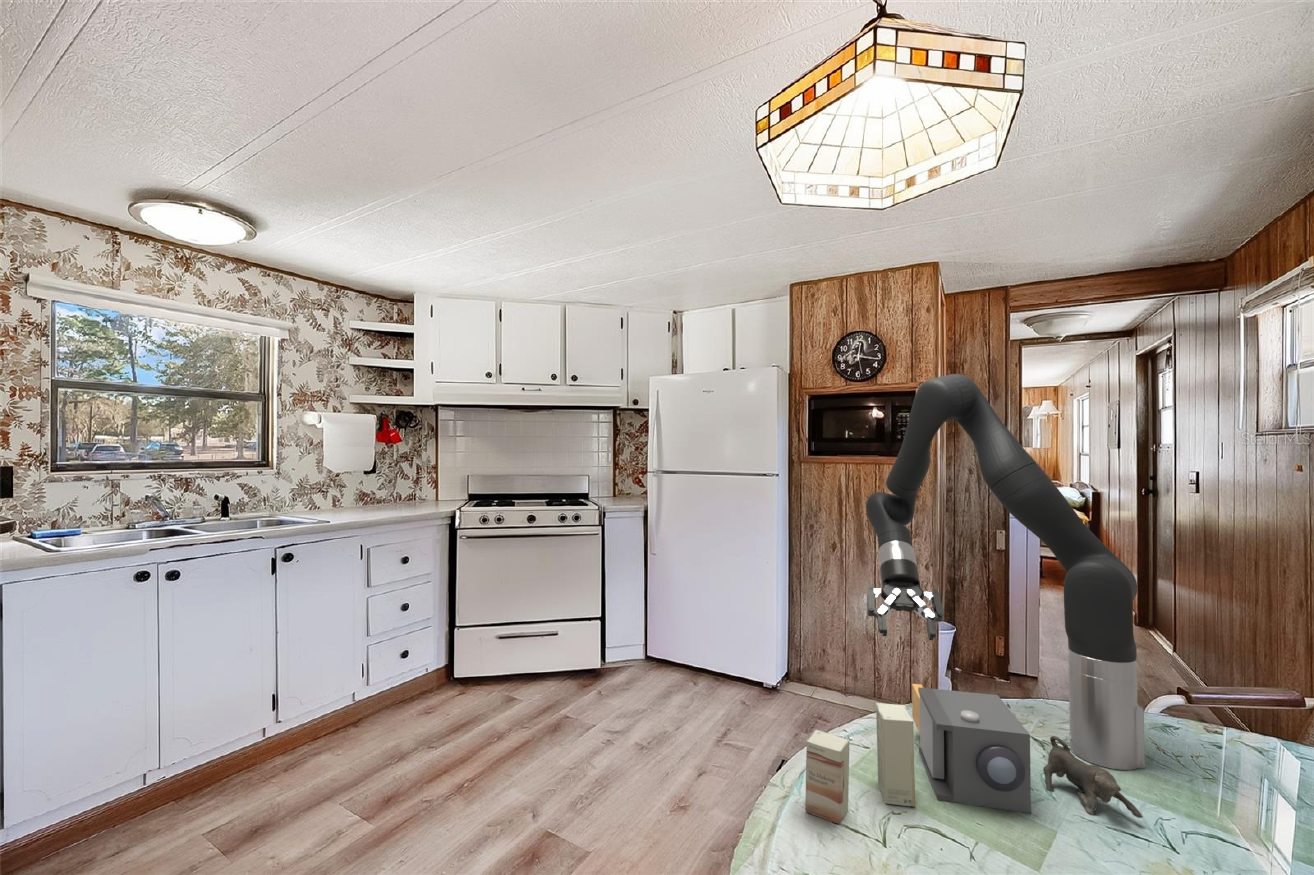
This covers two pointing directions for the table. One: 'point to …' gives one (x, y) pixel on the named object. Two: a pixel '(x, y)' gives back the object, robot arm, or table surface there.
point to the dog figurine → (1083, 778)
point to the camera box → (980, 750)
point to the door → (928, 735)
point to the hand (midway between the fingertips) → (908, 636)
